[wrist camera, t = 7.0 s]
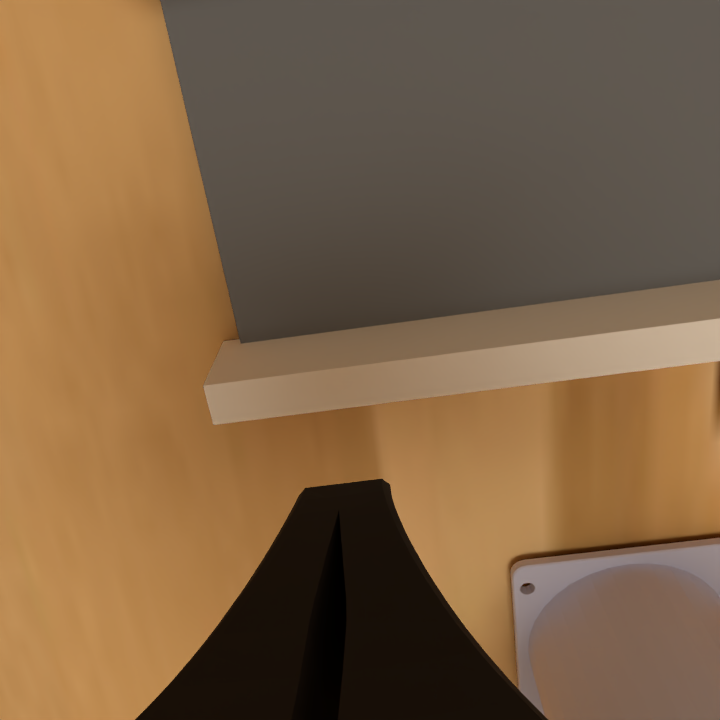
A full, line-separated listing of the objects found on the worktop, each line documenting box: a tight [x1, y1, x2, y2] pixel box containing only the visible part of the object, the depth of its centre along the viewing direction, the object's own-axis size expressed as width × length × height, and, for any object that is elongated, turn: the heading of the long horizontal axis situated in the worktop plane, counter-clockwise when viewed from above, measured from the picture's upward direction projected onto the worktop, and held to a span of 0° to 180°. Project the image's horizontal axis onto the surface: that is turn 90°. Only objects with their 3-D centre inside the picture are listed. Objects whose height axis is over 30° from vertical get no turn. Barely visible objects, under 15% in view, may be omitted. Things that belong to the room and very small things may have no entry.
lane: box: [160, 0, 720, 425], centre depth 17 cm, size 12×26×3 cm, turn 98°
